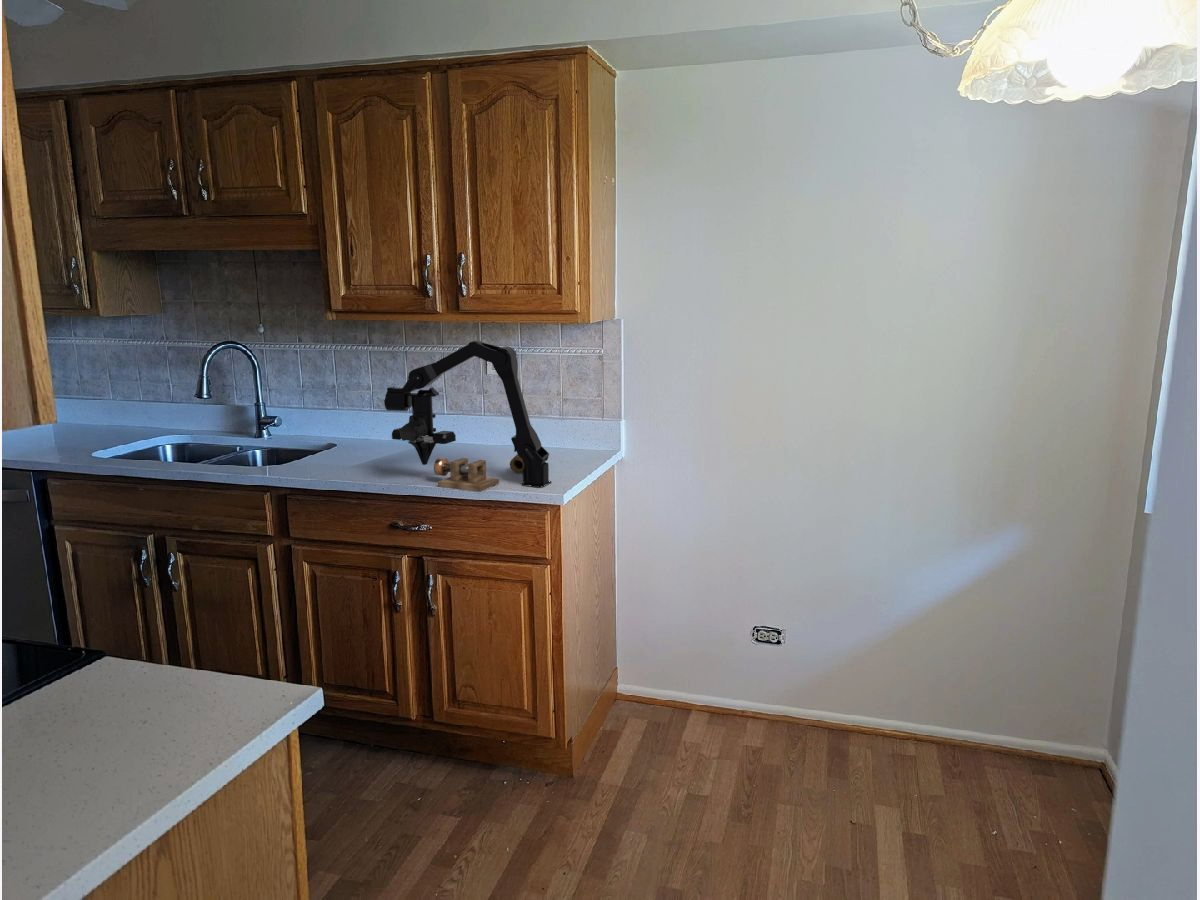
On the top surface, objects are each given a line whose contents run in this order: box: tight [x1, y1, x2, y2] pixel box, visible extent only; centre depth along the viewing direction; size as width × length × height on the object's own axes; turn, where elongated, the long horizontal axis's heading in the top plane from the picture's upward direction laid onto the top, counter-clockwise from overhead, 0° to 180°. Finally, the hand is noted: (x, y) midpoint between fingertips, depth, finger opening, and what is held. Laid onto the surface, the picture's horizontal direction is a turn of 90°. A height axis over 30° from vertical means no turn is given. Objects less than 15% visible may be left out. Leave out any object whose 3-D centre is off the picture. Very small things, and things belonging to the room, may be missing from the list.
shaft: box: [433, 457, 478, 477], centre depth 244 cm, size 12×5×5 cm, turn 65°
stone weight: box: [509, 453, 524, 474], centre depth 263 cm, size 15×7×7 cm, turn 165°
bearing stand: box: [437, 457, 500, 493], centre depth 242 cm, size 14×10×7 cm
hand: (424, 464), depth 248 cm, fingers closed
